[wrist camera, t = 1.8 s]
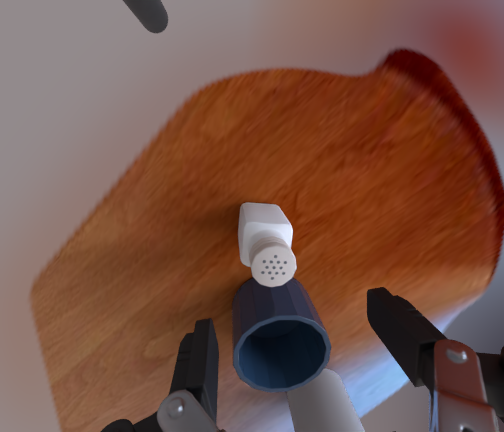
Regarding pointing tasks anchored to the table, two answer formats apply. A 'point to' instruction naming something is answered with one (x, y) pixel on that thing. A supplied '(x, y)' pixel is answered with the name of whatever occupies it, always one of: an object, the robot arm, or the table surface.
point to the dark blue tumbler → (277, 336)
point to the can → (323, 406)
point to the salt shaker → (266, 243)
